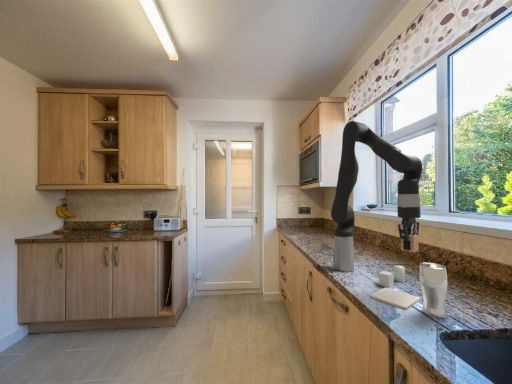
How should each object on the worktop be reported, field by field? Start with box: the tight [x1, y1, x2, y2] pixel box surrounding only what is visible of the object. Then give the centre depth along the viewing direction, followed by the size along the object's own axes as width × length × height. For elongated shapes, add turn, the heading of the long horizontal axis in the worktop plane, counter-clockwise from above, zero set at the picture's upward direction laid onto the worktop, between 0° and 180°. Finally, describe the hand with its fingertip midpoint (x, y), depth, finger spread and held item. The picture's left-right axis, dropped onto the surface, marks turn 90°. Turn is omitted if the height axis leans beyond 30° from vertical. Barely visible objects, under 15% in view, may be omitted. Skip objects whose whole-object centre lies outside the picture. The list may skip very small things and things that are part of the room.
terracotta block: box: [400, 234, 419, 253], centre depth 88 cm, size 4×4×6 cm
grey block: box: [378, 270, 395, 288], centre depth 95 cm, size 4×4×5 cm
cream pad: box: [369, 286, 422, 311], centre depth 82 cm, size 12×12×1 cm
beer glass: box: [419, 262, 448, 319], centre depth 71 cm, size 7×7×15 cm
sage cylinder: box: [393, 265, 406, 283], centre depth 100 cm, size 4×4×6 cm
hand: (409, 248), depth 88 cm, fingers closed on terracotta block, 4 cm apart
